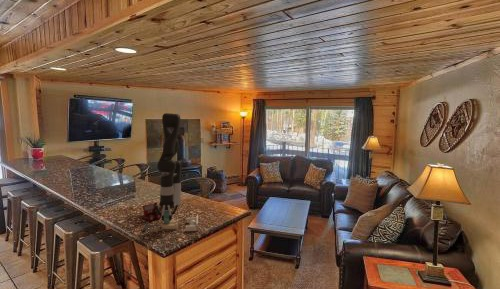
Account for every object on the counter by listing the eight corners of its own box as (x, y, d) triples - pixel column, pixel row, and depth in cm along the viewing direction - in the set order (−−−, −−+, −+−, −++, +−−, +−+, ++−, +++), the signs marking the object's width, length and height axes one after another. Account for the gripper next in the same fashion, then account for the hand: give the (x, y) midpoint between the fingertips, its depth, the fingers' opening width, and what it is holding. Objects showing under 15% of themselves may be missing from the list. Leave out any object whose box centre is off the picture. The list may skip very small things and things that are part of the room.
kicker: (163, 223, 163) (163, 209, 162) (178, 223, 165) (178, 208, 164) (161, 229, 155) (161, 214, 154) (177, 228, 157) (177, 213, 156)
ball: (188, 224, 164) (190, 218, 164) (195, 225, 165) (196, 219, 165) (188, 227, 160) (190, 220, 160) (195, 228, 161) (196, 222, 161)
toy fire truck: (164, 217, 174) (164, 202, 173) (146, 223, 165) (146, 207, 164) (158, 215, 179) (158, 200, 177) (140, 220, 169) (140, 204, 168)
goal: (186, 222, 168) (186, 215, 168) (198, 221, 170) (198, 215, 169) (185, 231, 156) (185, 223, 155) (197, 230, 157) (197, 223, 156)
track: (147, 224, 162) (147, 221, 162) (180, 223, 166) (180, 220, 165) (144, 231, 153) (144, 227, 153) (178, 230, 157) (178, 226, 157)
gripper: (179, 191, 162) (179, 218, 164) (155, 191, 160) (155, 218, 162) (178, 194, 155) (178, 223, 157) (153, 195, 153) (153, 223, 154)
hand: (166, 220), depth 159 cm, fingers closed on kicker, 3 cm apart
